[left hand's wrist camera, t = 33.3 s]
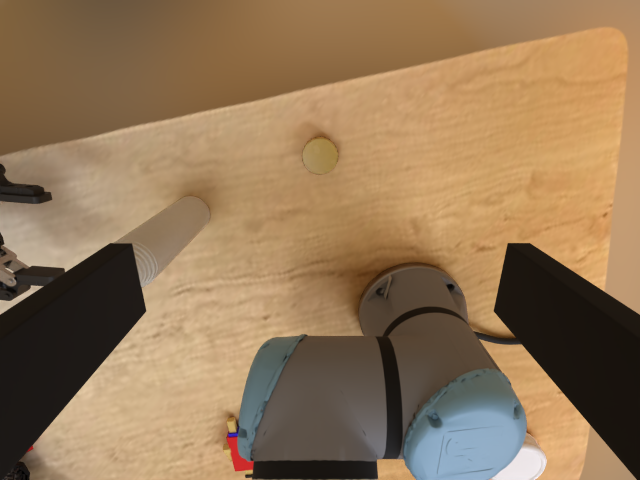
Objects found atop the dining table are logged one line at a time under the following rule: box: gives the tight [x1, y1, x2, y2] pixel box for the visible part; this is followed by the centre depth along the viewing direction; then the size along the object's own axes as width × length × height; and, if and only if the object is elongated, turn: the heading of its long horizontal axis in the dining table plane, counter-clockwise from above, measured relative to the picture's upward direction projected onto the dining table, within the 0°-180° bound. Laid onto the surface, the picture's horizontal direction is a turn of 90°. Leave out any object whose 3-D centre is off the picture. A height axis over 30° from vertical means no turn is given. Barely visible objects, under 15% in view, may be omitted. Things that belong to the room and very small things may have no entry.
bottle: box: [114, 196, 210, 288], centre depth 37 cm, size 5×5×21 cm
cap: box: [302, 136, 338, 175], centre depth 43 cm, size 4×4×2 cm
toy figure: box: [223, 417, 254, 478], centre depth 60 cm, size 2×7×12 cm
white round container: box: [491, 432, 546, 480], centre depth 60 cm, size 10×10×4 cm
